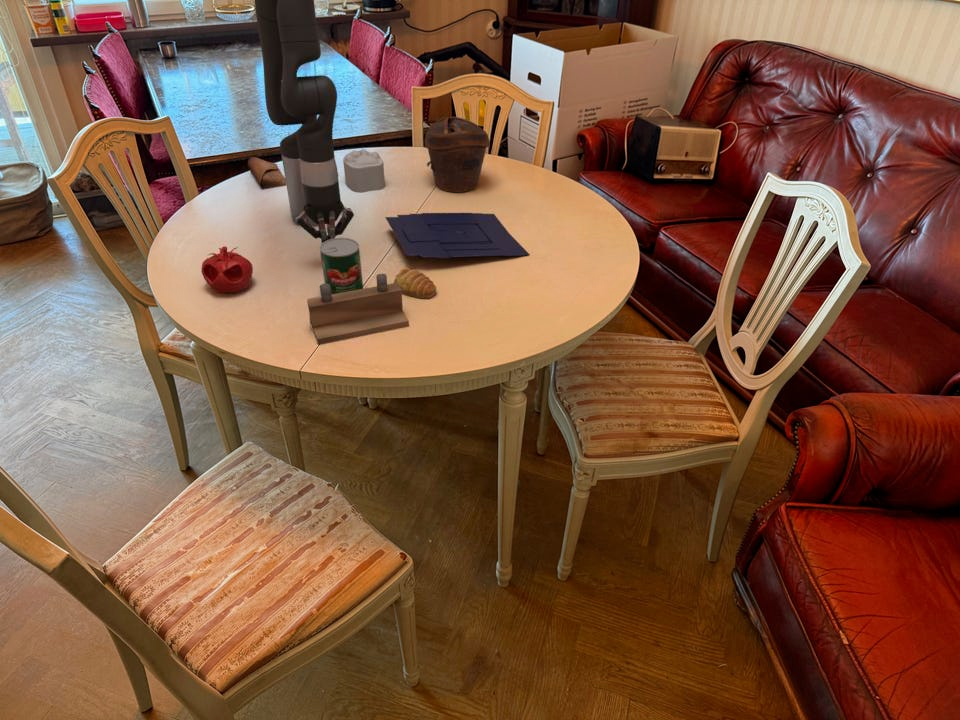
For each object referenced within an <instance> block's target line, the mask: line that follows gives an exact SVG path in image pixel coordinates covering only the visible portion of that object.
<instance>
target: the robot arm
mask: <svg viewBox="0 0 960 720" xmlns="http://www.w3.org/2000/svg"><path fill="white" fill-rule="evenodd" d="M315 8H316V7H315V0H254V9H255V15H256V17H255V18H256V24H257V29H258V37H259V41H260V42H259V43H260V49H261V54H262V64H263V82H264V95H265V97H264V98H265V106H266V110H267V115H268V118H269V119H270V120H271V122H272V124H273V125H275V126H296V125H301V126H300V127H299V128H298V129H296V131H294V132H293V133H291V134H289V135H287V136H285V137H283V138H282V140H280V143H279V149H280V154H281V161H282V166H283V172H284V177H285V179H286V186H285V187H286V191H287V198H288V203H289V210H290V215H291V221H292V222H293V224H295V225H297V226H300V228H302V229H303V230H304V231H305V232H306V233H308V234H309V235H310V236H311V237H313V238H314V239H320V240H321V244H322V243H323V242H325V241H327V240H330V239H334V238H337V236H341V235H343V233H344V232H345V230H346V229H347V227H348V225H349V224H350V223H351V221H352V219H353V218H354V217H355V214H354V212H353V210H352V208H351V207H348V208H347V207H346V206H344V204H343V202H342V199H341V192H340V191H341V190H340V181H339V172H338V167H337V166H338V165H337V162H336V159H335V158H336V157H335V149H334V140H333V139H334V138H333V131H334V129H333V128H334V119H335V116H336V109H337V102H338V90H337V87H336V85H335V83H334V82H333V80H332V79H331V78H330V77H328V75H323V74H321V75H320V74H318V75H306V76H298V70H299V68H300V67H301V66H303V65H306V64H309V63H312V62H315V61H318V60H319V59H320V58H321V55H322V53H321V52H322V51H321V50H322V49H321V42H320V36H319V29H318V23H317V17H316V9H315ZM340 216H341V217H340ZM338 219H339V221H338ZM336 222H337V223H336ZM315 226H318V227H317V228H318V229H316V228H315Z"/></svg>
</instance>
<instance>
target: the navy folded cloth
mask: <svg viewBox="0 0 960 720" xmlns="http://www.w3.org/2000/svg"><path fill="white" fill-rule="evenodd" d="M384 218H385V220H386V221H387V224H388V225H389V227H390V228H391V230H392V231H393V233H394V235H395V237H396V238H397V241H398V242H399V245H400V246H401V248H402V249H403V251H404V253H405V255H406V256H421V258H437V259H438V258H439V259H443V258H445V259H447V258H451V259H452V258H460V257H461V258H462V257H463V258H465V257H466V258H467V257H492V256H493V257H495V256H497V257H498V256H503V257H505V256H506V257H507V256H510V257H511V256H513V257H514V256H515V257H516V256H530V253H529V252H527V250H526V249H525V248H524V247H523V246H522V245H521V244H520V243H519V242H518V241H517V240H516V238H515V237H513V236H512V235H511V233H510V232H509V231H508V230H507V228H506V227H505V226H504V224H503V223H502V222H501V221H500V220H499V219H498V217H497V216H496V214H495V213H483V212H481V213H480V212H479V213H478V212H421V213H409V214H397V216H389V217H388V216H385V217H384Z"/></svg>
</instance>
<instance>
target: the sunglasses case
mask: <svg viewBox="0 0 960 720" xmlns="http://www.w3.org/2000/svg"><path fill="white" fill-rule="evenodd" d="M247 166H248V169H249V171H250V172H251V173H252V175H253V177H254V179H255V180H256V182H257V184H258V186H259V188H261V189H262V190H268V189H273V188H274V189H275V188H280V187H287V186H286V179H285V175H283V173H282V172H281V170H280V168H279V167H278V164H277V163H275V162H269V161H266V160H264V159H261V158H259V157H256V156H255V157H254V156H251V157H249V158H248V160H247Z"/></svg>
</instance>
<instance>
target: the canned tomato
mask: <svg viewBox="0 0 960 720" xmlns="http://www.w3.org/2000/svg"><path fill="white" fill-rule="evenodd" d="M319 251H320V252H319V253H320V259H321V265H322V272H323V280H324V283H327V284H330V287H331V295H332V294H337V293H343V292H348V291H354V290H359V289H364V283H363V274H362V273H363V272H362V263H361V253H360V244H359V242H358V241H357V240H354V239H352V238H349V237H335V238H334V239H330V240H327V241H325V242H323V243H322V242H321V244H320V246H319Z"/></svg>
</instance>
